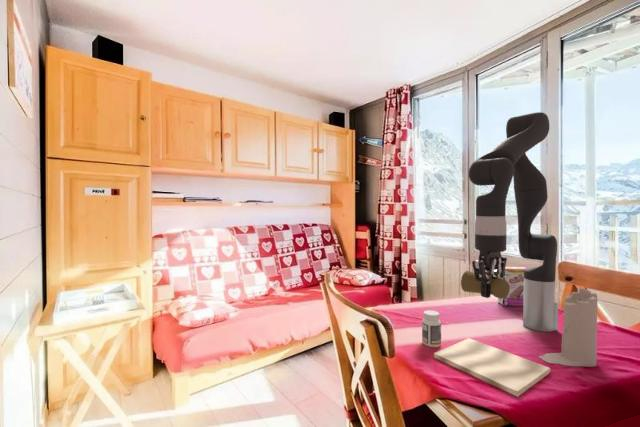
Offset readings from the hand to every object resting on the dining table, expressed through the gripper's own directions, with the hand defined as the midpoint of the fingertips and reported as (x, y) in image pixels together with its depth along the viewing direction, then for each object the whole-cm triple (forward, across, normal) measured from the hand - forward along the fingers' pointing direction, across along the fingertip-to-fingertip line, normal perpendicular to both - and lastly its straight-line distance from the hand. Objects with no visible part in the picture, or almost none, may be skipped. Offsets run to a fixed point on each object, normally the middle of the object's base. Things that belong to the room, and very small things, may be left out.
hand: (489, 295), depth 83 cm
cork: (-3, 0, +7) cm, 7 cm away
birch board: (+19, 0, 0) cm, 19 cm away
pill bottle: (+19, -2, +17) cm, 26 cm away
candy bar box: (+20, +60, +20) cm, 66 cm away
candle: (+19, +20, -11) cm, 30 cm away
